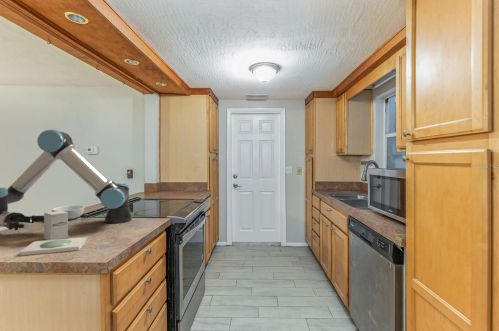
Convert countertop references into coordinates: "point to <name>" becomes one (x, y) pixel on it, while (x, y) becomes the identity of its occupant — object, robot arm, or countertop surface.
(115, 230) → the countertop surface
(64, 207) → the cereal bowl
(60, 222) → the supplement box
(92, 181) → the robot arm
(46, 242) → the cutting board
